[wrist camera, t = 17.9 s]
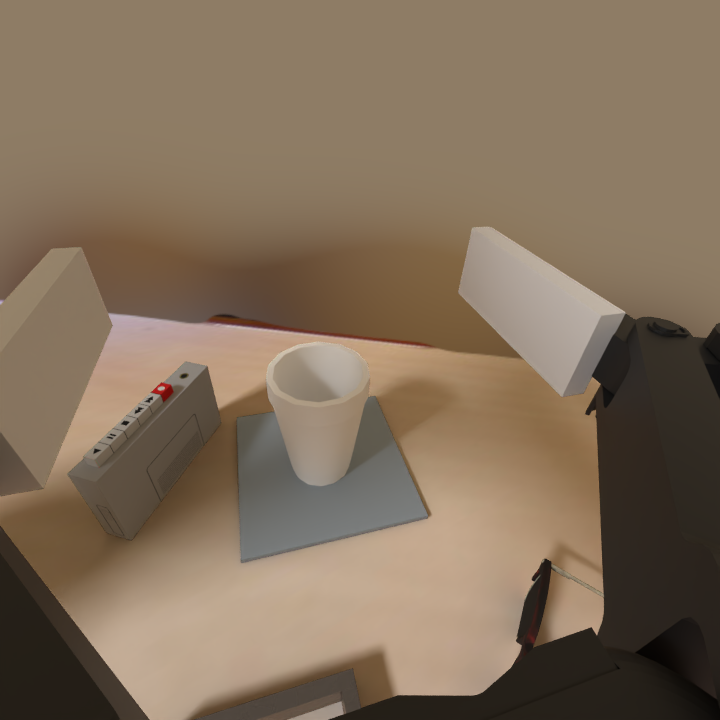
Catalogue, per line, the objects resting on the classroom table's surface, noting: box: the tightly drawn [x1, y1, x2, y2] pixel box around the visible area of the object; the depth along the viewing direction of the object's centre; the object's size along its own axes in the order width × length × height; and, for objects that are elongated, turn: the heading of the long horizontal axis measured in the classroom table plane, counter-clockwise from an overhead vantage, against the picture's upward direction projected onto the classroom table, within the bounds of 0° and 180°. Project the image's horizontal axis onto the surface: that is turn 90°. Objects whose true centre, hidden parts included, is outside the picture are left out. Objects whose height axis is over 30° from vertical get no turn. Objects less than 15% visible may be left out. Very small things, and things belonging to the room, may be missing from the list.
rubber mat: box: [237, 396, 428, 563], centre depth 44 cm, size 18×18×1 cm
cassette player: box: [68, 362, 221, 540], centre depth 39 cm, size 16×3×10 cm, turn 165°
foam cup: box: [266, 342, 370, 486], centre depth 39 cm, size 10×9×13 cm
